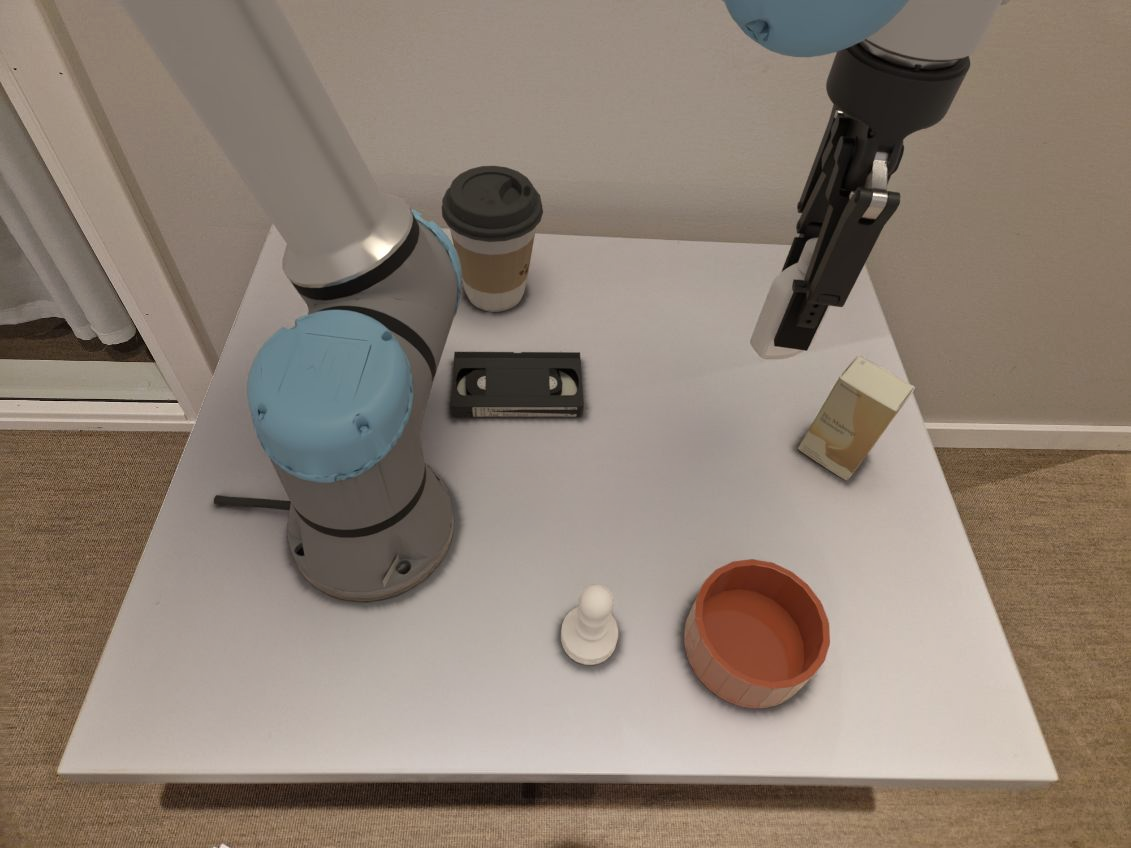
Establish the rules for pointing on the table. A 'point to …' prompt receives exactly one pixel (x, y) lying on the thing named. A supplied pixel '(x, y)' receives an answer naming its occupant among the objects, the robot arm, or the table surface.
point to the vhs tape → (517, 384)
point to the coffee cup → (493, 233)
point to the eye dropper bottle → (780, 308)
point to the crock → (756, 633)
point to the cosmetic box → (854, 416)
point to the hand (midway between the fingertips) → (788, 322)
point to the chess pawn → (590, 627)
